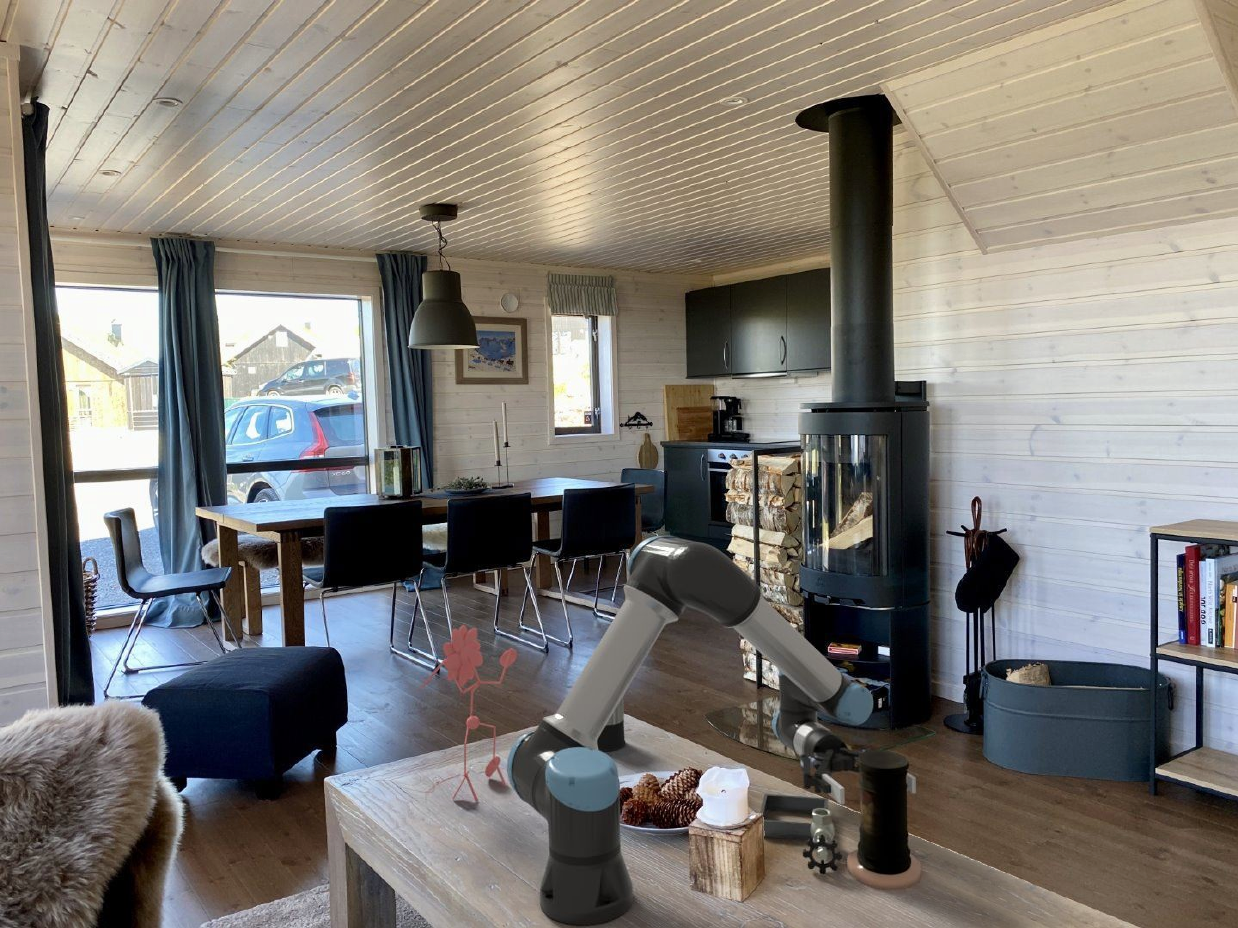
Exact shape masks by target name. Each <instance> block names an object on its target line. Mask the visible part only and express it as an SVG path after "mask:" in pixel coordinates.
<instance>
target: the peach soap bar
mask: <svg viewBox="0 0 1238 928" xmlns="http://www.w3.org/2000/svg"><path fill="white" fill-rule="evenodd" d="M857 852H858V848H856V849H855V850H852V851H851V852H850V853H849V854H848V856H847V858H846V860H847V861H846V863H847V872H848V874H849V875H850V876H851V877H852V878H853V879H854V880H855V879H856V881H857V882H859V883H861V884H863V885H865V886H868V887H871V888H876V889H883V890H903V889H906V888H910V887H913V886H915V885H916V884H918V882H920V880H921V878H922V872H921V871H922V865H921V863H920V861H919V860H918V859H917V857H915V856H914V855H913V854H910V857H911V866H910V868H909V869H908V870H907V871H906V872H903V873H900V874H894V875H885V874H879V873H875V872H872V871H869V870H867V869H865V868H864V867H862V866H861V865H860V864H859V862H858V859H857ZM912 885H913V886H912Z"/></svg>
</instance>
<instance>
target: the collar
mask: <svg viewBox="0 0 1238 928" xmlns="http://www.w3.org/2000/svg"><path fill="white" fill-rule="evenodd" d="M817 808H825V809H828V810H829V798H825V797H813V796H799V795H788V794H787V795H785V794H771V793H764V794H763V799H762V803H761V807H760V812H759V814H760V813H763V817H764V831H765V837H764V838H772V839H774V838H775V839H783V840H785V839H786V840H796V841H806V842H807V840H808V839H809V838H811V839H813V837H812V834H811V824H812V822H811V823H810V822H797V821H783V820H774V819H767V815H768V811H775V812H776V811H777V812H786V813H787V812H788V813H799V814H811V815H813V810H814V809H817Z"/></svg>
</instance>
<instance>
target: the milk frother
mask: <svg viewBox="0 0 1238 928" xmlns="http://www.w3.org/2000/svg"><path fill="white" fill-rule="evenodd" d="M624 695H625V694H624ZM624 695H623V697H622V698H621V700H620V702H619V703H618V705H617V707H616V709H615V710H614V712H613V714H612V715H611V717H610V719H609V720H608V722H607V724H606V725H605V727H604V729H603V730H602V732H601V734H600V736H599V737H598V739H597V746H598V750H599V751H601V752H612V751H619V750H620V749H623V748H624V747H625V746H626V743H627V742H626V740H625V722H624V721H625V719H624V717H625V715H624V714H625V712H624V710H625V706H624V703H625V702H624V701H625V700H624V697H625V696H624Z"/></svg>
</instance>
